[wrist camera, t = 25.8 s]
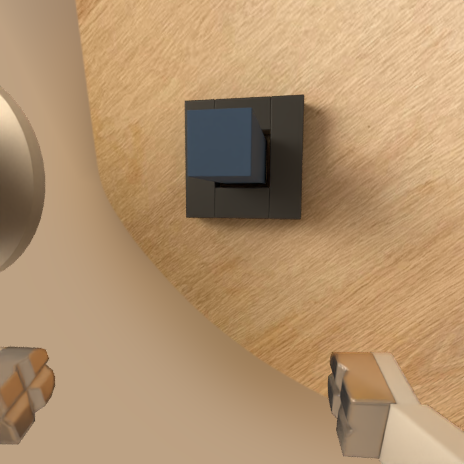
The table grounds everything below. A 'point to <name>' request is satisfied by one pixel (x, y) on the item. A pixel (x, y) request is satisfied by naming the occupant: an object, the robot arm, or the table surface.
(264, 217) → the black square socket base
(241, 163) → the blue rectangular peg
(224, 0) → the table surface
